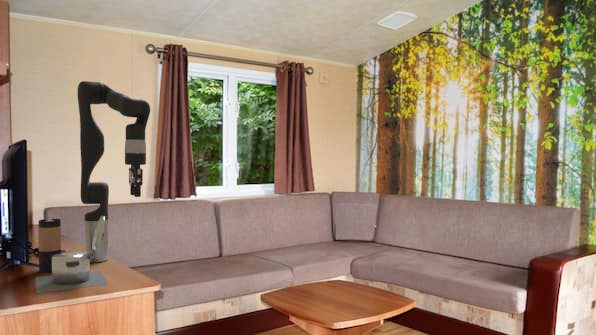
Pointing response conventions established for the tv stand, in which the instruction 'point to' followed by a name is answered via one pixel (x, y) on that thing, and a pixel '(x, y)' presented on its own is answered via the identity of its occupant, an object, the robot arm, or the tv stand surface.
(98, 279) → the mat
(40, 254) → the travel mug
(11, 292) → the tv stand surface
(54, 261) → the pot
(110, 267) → the tv stand surface
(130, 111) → the robot arm
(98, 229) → the lid
